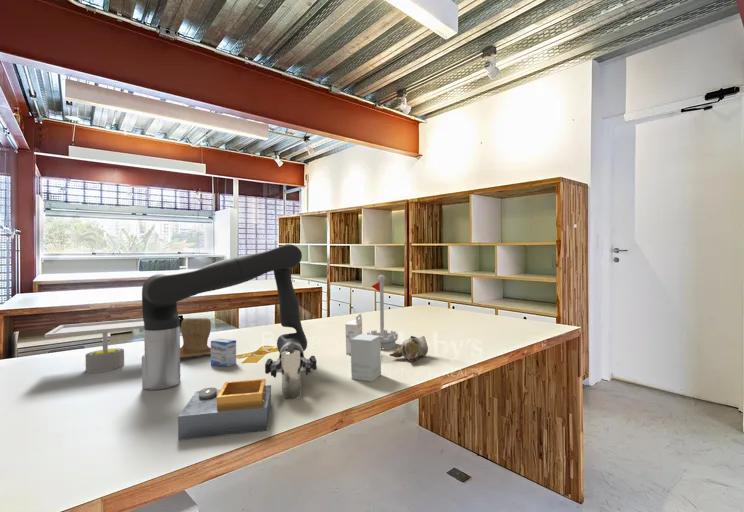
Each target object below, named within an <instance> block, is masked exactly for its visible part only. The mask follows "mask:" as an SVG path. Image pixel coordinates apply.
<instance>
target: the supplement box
mask: <svg viewBox="0 0 744 512" xmlns="http://www.w3.org/2000/svg"><path fill="white" fill-rule="evenodd" d="M381 350H382V349H380V336H376V335H367V334H363V333H362V334H360V335H358V336H356V337H354V338H352V339H351V354H350V363H351V364H350V367H351V370H350V372H351V379H352V380H357V381H364V382H374V381H375V380H377V379H378V378H379V377H380V376H381V374H382V357H381V352H382V351H381Z"/></svg>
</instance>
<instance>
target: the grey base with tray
mask: <svg viewBox="0 0 744 512" xmlns="http://www.w3.org/2000/svg"><path fill="white" fill-rule="evenodd" d="M271 408H272V385H271V384H270V385H269V384H268V385H267V384H266V378H260V379H259V378H258V379H257V378H256V379H248V380H246V379H245V380H244V379H243V380H236V381H233V380H232V381H225V382H223V385H222V387H221V389H217V388H216V387H206V388H202V389H199V390H197V391H195V392H194V393H193V395H192V397H191V398H190V399H189V401H188V402H187V404H186V405H185V406H184V407H183V409H182V410H181V411H180V413H179V414H178V416H177V433H178V434H177V437H178V438H177V439H178V441H181V440H190V439H191V440H192V439H200V438H201V439H202V438H207V437H208V438H210V437H218V436H228V435H235V434H236V435H238V434H246V433H257V432H264V431H268V427H269V421H270V415H271Z"/></svg>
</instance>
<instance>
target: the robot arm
mask: <svg viewBox="0 0 744 512" xmlns="http://www.w3.org/2000/svg"><path fill="white" fill-rule="evenodd" d="M302 258H303V253H302V250H301V249H300V248H299V247H298V246H296V245H295V244H292V243H288V244H287V243H286V244H282V245H280V246H278V247H276V248H275V247H274V248H272V249H270V250H265V251H263V252H257V253H256V252H255V253H251V254H245V255H239V256H234V257H230V258H225V259H222V260H219V261H215V262H212V263H210V264H207V265H205V266H202V267H201V268H198V269H195V270H192V271H187V272H181V273H175V274H164V273H162V274H160V273H159V274H158V273H157V274H154V275H152V276H149V277H148V278H147V279H145V281H144V282H143V284H142V288H141V289H142V290H141V306H142V307H141V309H142V311H141V312H142V319H143V321H144V328H143V329H144V330H143V333H144V334H143V337H144V345H143V346H144V355H142V356H141V387H142V388H141V389H142V390H151V391H155V390H164V389H169V388H172V387H175V386H177V385H179V384H180V383H181V359H180V348H181V345H180V344H181V336H180V335H181V333H180V332H181V323H180V316H179V314H178V313H179V312H178V305H177V304H178V302H181V301H183V300H186V299H188V298H191V297H193V296H196V295H198V294H203V293H208V292H212V291H217V290H222V289H225V288H230V287H233V286H237V285H240V284H244V283H246V282H248V281H249V282H250V281H252V280H254V279H257V278H258V277H261V276H262V275H265V274H268V273H270V272H273V274H274V279H275V283H276V285H275V286H276V289H277V294H278V295H277V296H278V306H279V308H278V309H279V318H280V325H281V327H284V328H290V329H291V328H292V329H294V330H295V332H292V333H291V332H290V333H285V334H281V335H279V336H278V338H277V339H276V347H277V350H278V353H279V356H278V359H277V360H273V359H272V358H268V359H266V362H265V364H264V374H267V375H269V374H270V376H271V377H272V378H277V375H278V373H280V374H282V358H281V353H282V352H283V351H287V350H288V345H290V344H293V345H294V350H298V351H300V372H304V371H305V375H307V376H308V375H309V374H311V372H312V371H316V370H317V367H318V366H317V362H318V361H317V358H316V356H315V355H310V357H309V358H306V357H305V353H304V352H305V351H306V349H307V348H308V339H307V336H306V334H305V332H304V329H303V327H302V326H303V325H302V322H301V314H300V304H299V298H298V296H297V294H296V292H295V288H294V285H293V281H292V269H294V268H296V267H297V266H298V265H299V264H300V263H301V261H302ZM311 370H312V371H311Z"/></svg>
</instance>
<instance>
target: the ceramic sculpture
mask: <svg viewBox="0 0 744 512" xmlns="http://www.w3.org/2000/svg"><path fill="white" fill-rule="evenodd" d="M428 346H429V345H428V343H427V340H426V337H425V336H424V335H423V336H421V337H416V336H415V335H414V336H413V335H411V336H410V337H409V338H408V339H405V340H404V341H402V343H401V347H398V348H397V349H396V350H394V352H392V353H389V356H390V357H391V358H393V357H394V358H402V357H403V358H404V359H405V360H408V362H416V361H417V360H418V359H419V357H425V356H427V354H428V352H429V347H428Z"/></svg>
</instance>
